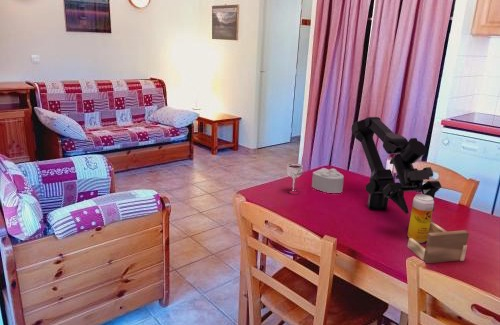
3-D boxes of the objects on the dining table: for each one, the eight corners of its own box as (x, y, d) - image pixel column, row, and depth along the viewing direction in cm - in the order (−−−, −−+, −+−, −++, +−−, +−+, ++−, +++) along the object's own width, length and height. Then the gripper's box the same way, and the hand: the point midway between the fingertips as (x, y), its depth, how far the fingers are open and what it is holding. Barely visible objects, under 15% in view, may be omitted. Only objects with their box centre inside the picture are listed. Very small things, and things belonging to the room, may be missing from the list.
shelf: (391, 233, 130) (395, 209, 127) (424, 230, 132) (428, 207, 130) (427, 264, 112) (432, 236, 109) (464, 260, 115) (470, 233, 112)
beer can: (418, 245, 123) (425, 202, 118) (403, 237, 128) (409, 195, 123) (431, 241, 125) (439, 199, 121) (415, 233, 130) (422, 192, 126)
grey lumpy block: (321, 182, 176) (323, 164, 173) (347, 190, 168) (349, 171, 165) (308, 188, 168) (310, 169, 166) (335, 196, 160) (337, 177, 158)
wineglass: (282, 190, 165) (283, 164, 161) (295, 188, 168) (297, 162, 164) (290, 196, 159) (292, 168, 156) (304, 194, 162) (306, 167, 158)
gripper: (391, 159, 123) (407, 204, 115) (442, 157, 126) (460, 201, 119) (376, 175, 132) (389, 217, 125) (424, 172, 136) (439, 214, 129)
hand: (420, 212), depth 124 cm, fingers open, 9 cm apart
